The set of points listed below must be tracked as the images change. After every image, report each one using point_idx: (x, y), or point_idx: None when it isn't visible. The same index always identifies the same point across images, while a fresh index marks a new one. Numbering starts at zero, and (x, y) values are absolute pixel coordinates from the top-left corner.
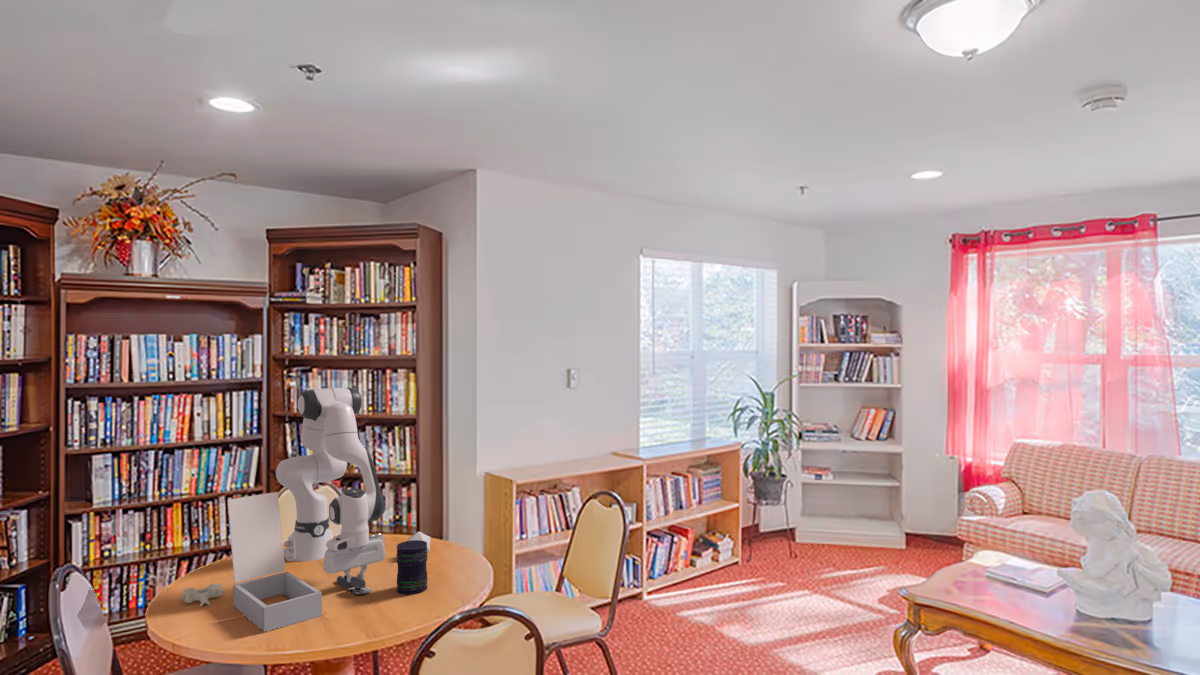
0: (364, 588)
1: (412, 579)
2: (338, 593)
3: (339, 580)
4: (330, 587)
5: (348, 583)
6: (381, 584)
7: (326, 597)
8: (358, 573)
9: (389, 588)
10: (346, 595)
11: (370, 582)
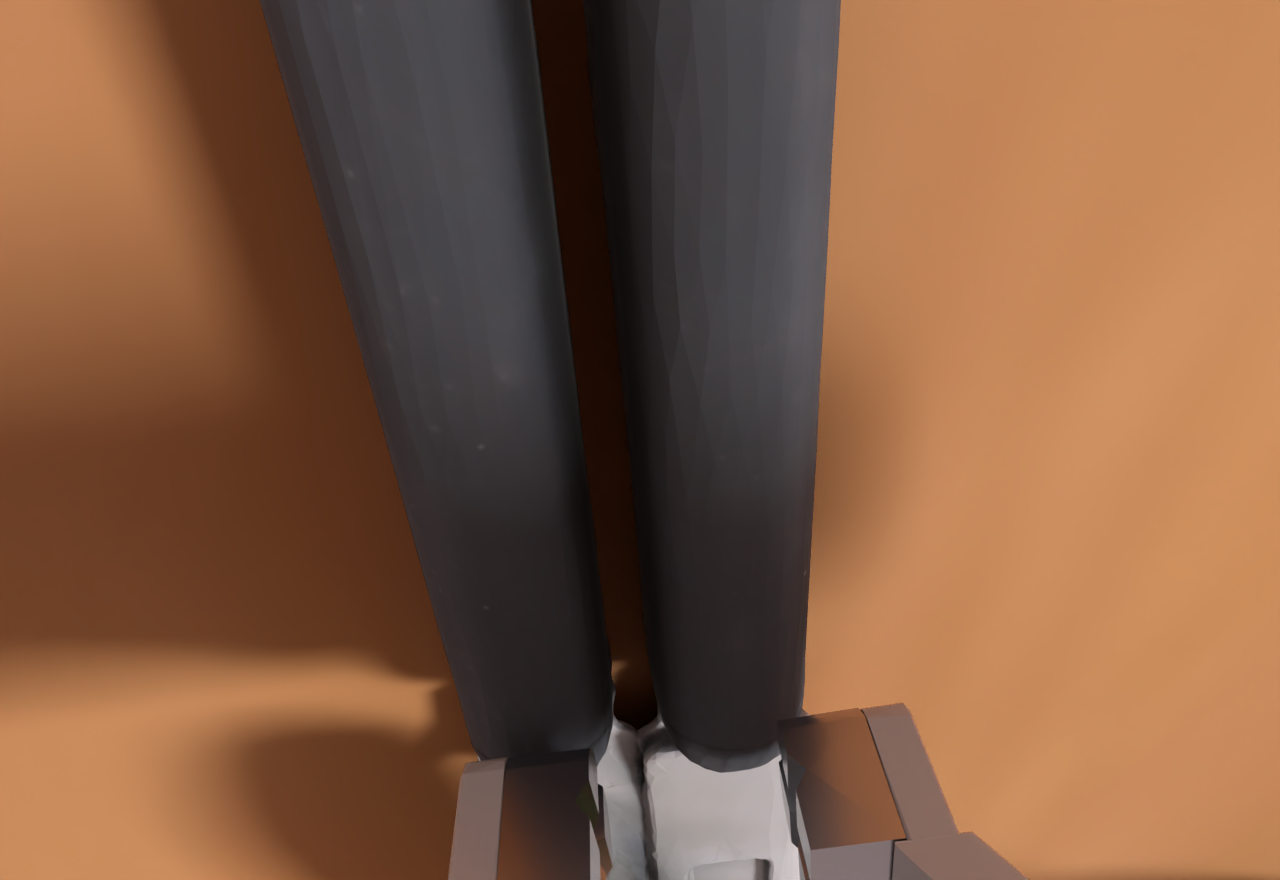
0: (736, 871)
1: None
2: (265, 715)
3: (322, 208)
4: (51, 273)
5: (494, 746)
6: (1134, 702)
7: (14, 774)
8: (838, 863)
9: (1083, 870)
10: (400, 835)
11: (1078, 511)
